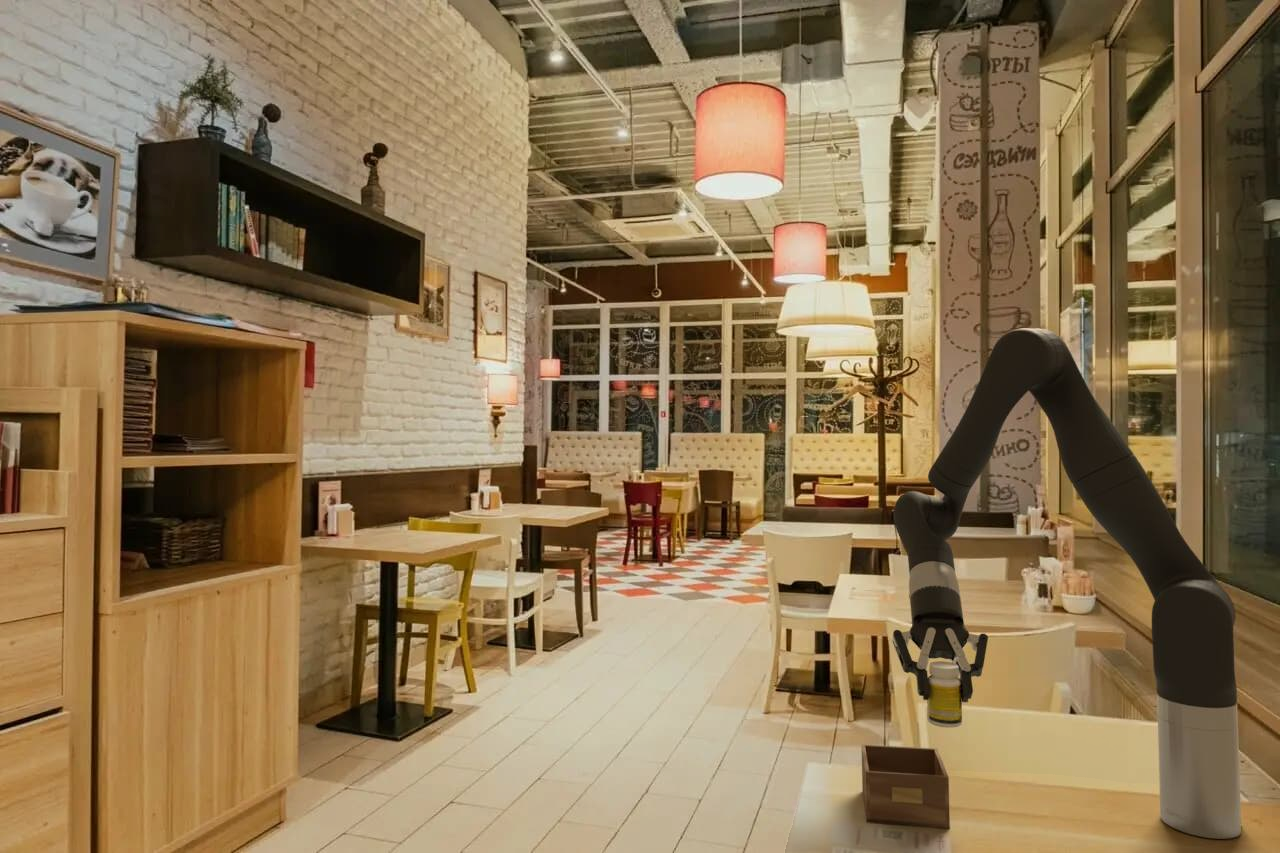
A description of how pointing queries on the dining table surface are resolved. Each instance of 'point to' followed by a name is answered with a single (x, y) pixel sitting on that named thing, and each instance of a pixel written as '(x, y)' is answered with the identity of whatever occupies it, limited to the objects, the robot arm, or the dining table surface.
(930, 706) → the supplement bottle
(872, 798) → the wooden box
